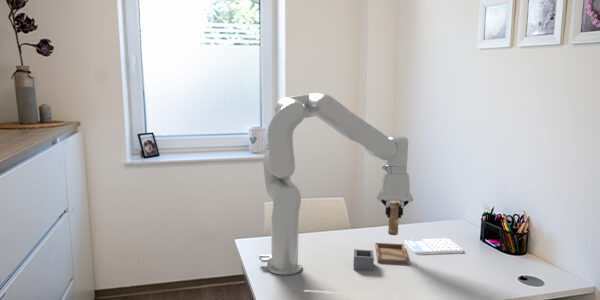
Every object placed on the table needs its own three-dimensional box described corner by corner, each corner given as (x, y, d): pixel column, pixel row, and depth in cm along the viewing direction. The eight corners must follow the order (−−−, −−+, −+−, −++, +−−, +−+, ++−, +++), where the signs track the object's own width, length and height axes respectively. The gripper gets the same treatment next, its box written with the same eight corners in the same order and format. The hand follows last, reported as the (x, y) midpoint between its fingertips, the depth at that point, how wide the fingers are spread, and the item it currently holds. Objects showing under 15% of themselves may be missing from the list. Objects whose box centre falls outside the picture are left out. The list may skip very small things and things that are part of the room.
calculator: (464, 254, 183) (464, 249, 182) (415, 255, 180) (415, 251, 180) (449, 241, 196) (449, 237, 195) (403, 242, 193) (403, 238, 193)
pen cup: (353, 271, 164) (354, 256, 163) (353, 263, 171) (354, 249, 170) (373, 272, 163) (373, 257, 162) (372, 264, 170) (372, 250, 169)
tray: (408, 266, 169) (408, 260, 169) (377, 264, 170) (378, 259, 170) (402, 249, 185) (403, 244, 185) (375, 247, 186) (375, 242, 186)
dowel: (388, 235, 174) (390, 204, 172) (387, 231, 178) (389, 201, 176) (398, 235, 174) (400, 204, 172) (397, 232, 178) (398, 202, 175)
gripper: (374, 171, 169) (372, 219, 172) (420, 172, 167) (417, 221, 170) (373, 166, 176) (371, 212, 179) (417, 168, 174) (414, 214, 178)
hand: (393, 216), depth 175 cm, fingers closed on dowel, 3 cm apart
